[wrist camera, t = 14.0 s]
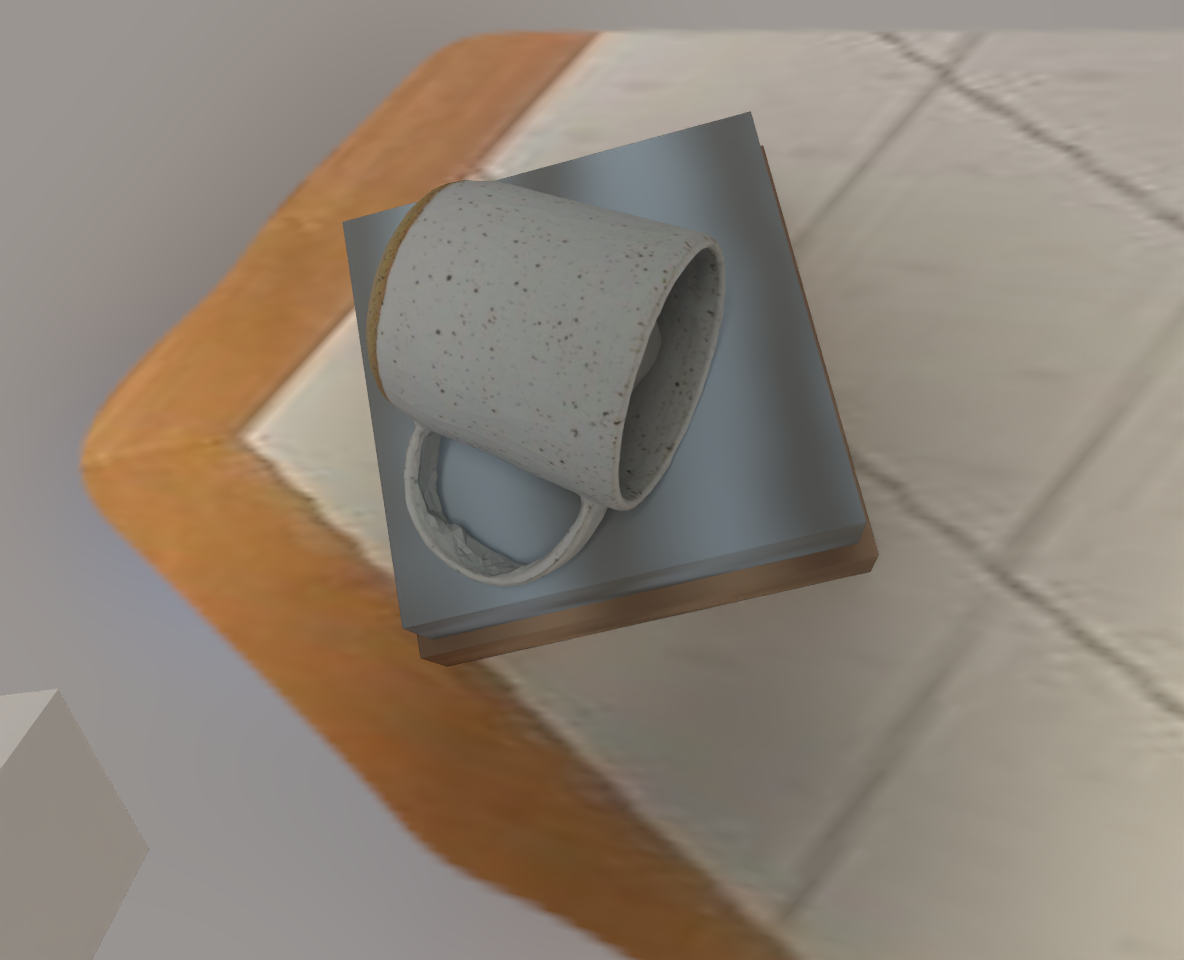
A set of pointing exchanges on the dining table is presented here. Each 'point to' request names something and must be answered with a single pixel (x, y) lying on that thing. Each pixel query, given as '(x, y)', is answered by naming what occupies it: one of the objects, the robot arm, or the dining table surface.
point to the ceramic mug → (541, 350)
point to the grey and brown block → (701, 461)
